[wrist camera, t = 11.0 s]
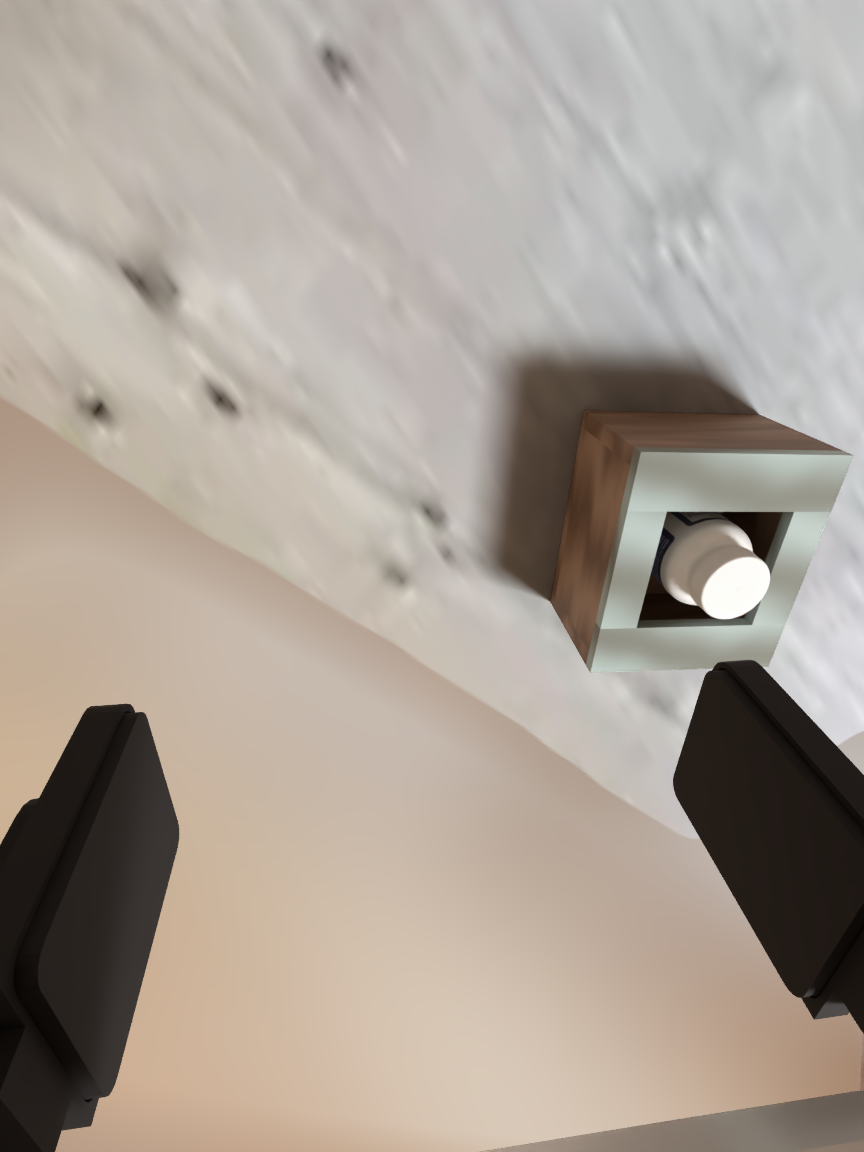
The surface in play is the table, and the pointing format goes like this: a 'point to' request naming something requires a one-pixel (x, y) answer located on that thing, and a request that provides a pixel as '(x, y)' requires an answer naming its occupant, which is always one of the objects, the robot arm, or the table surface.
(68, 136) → the table surface
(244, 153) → the table surface
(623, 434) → the box
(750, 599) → the pill bottle
